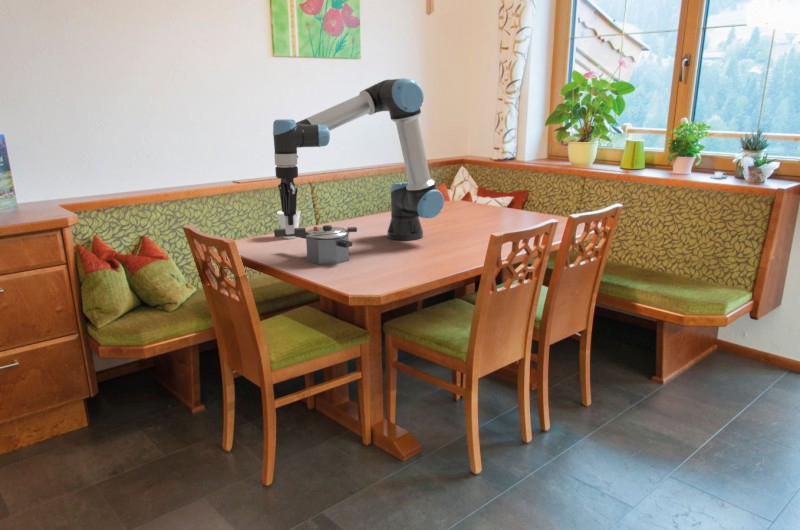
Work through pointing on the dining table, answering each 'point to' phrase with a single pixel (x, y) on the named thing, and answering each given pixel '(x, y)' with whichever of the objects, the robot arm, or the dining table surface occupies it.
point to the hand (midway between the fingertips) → (290, 233)
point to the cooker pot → (327, 250)
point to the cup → (282, 221)
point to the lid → (318, 232)
